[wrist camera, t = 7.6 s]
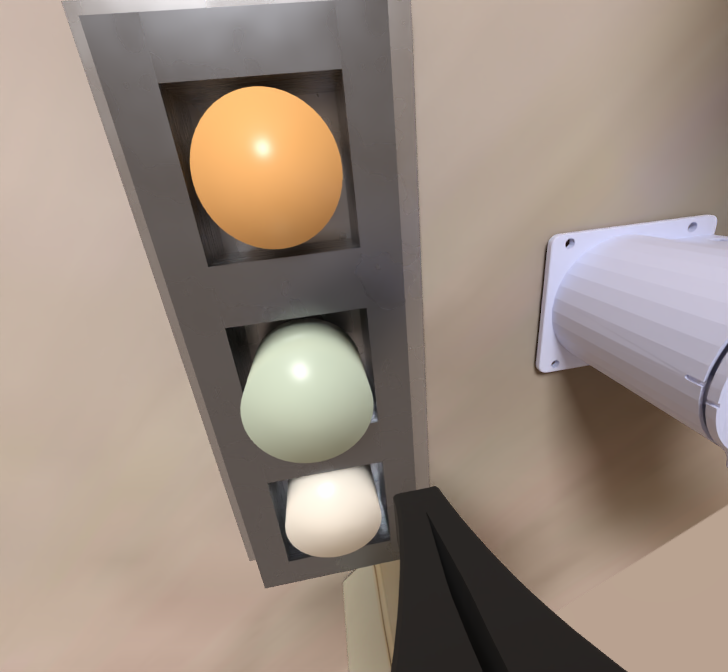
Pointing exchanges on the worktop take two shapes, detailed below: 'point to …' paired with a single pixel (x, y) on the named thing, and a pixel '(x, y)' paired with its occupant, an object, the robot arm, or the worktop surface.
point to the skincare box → (371, 616)
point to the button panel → (276, 266)
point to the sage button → (306, 393)
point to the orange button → (266, 167)
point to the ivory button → (332, 511)
